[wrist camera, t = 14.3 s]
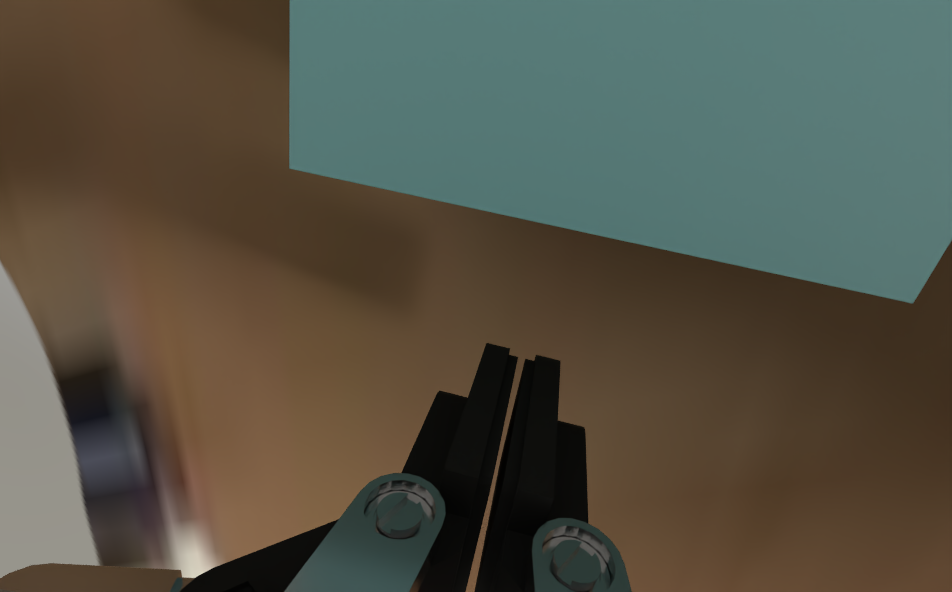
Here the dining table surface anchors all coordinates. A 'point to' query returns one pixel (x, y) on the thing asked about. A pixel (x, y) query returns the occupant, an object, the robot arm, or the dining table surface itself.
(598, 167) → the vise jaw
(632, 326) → the dining table surface
